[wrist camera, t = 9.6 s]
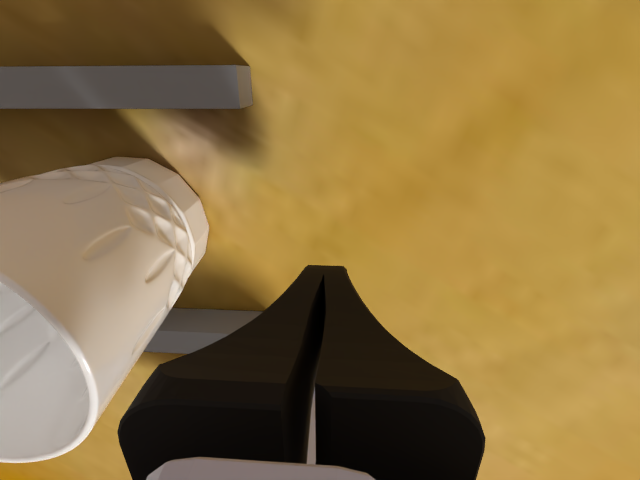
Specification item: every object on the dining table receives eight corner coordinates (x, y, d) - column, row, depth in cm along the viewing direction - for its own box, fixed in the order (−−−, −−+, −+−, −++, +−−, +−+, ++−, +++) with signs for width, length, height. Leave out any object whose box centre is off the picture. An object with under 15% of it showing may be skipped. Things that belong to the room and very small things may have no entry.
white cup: (57, 245, 19) (-205, 399, 10) (87, 110, 16) (-259, 157, 7) (192, 307, 20) (67, 494, 11) (245, 193, 17) (129, 326, 8)
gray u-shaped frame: (271, 332, 20) (263, 357, 19) (22, 321, 21) (-8, 344, 20) (249, 66, 15) (236, 64, 13) (-93, 68, 16) (-151, 68, 14)
